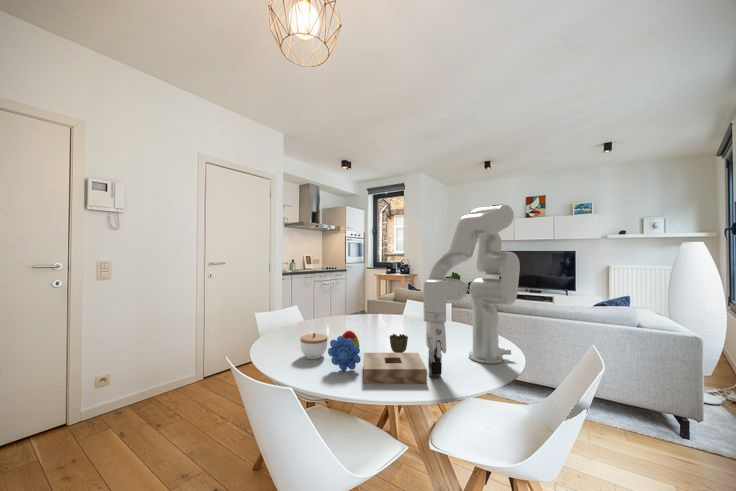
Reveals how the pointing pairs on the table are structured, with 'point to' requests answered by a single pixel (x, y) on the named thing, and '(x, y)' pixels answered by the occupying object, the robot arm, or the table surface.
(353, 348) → the grapes
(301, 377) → the table surface
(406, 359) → the walnut block
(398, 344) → the cup
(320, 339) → the lidded jar
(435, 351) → the steel peg
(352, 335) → the decorative egg
